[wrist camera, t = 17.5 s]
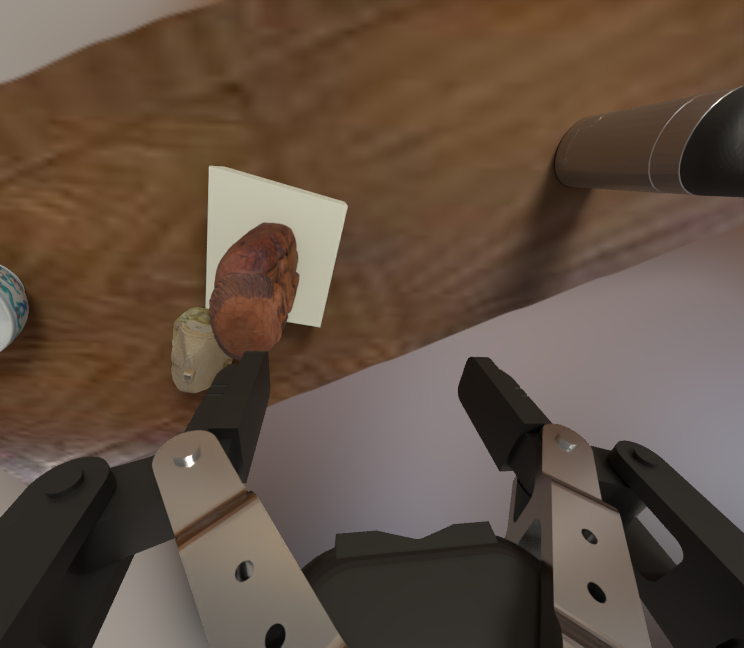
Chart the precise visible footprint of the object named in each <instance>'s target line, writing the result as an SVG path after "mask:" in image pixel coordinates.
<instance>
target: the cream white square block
mask: <svg viewBox="0 0 744 648" xmlns="http://www.w3.org/2000/svg"><path fill="white" fill-rule="evenodd" d="M347 207H348V206H347V205H346V203H345V202H343V201H340V200H336V199H333V198H329V197H326V196H323V195H319V194H316V193H312V192H309V191H306V190H302V189H299V188H295V187H292V186H289V185H285V184H282V183H278V182H275V181H272V180H268V179H265V178H261V177H258V176H254V175H251V174H248V173H244V172H241V171H237V170H234V169H231V168H227V167H224V166H209V191H208V232H207V273H206V308H207V309H209V307H210V305H209V300H210V298H211V294H212V292H213V290H214V282H215V275H216V270H217V266H218V264H219V262H220V260H221V259H222V257H223V256H224V254H225V253H226V252H227V250H228V249H229V248H230V247H231V246H232V245H233V244H234V243H236V242H237V241H238V240H239V239H240V238H241V237H242V236H244V235H245V234H247V232H249V231H250V230H251V229H254V228H255V227H256V226H258V225H259V224H261V223H263V222H266V223H279V224H284V225H286V226H288V227H289V228H291V229H292V231H293V233H294V236H295V239H296V245H297V248H296V250H297V252H298V264H297V269H296V272H297V273H299V275H300V277H299V284H298V288H297V292H296V296H295V299H294V303H293V307H292V310H291V312H290V313H288V319H287V322H291V323H297V324H304V325H310V326H316V327H320V326H321V321H322V317H323V312H324V308H325V304H326V299H327V295H328V290H329V286H330V282H331V277H332V273H333V268H334V264H335V260H336V255H337V251H338V247H339V242H340V238H341V233H342V229H343V225H344V220H345V216H346V211H347Z"/></svg>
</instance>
